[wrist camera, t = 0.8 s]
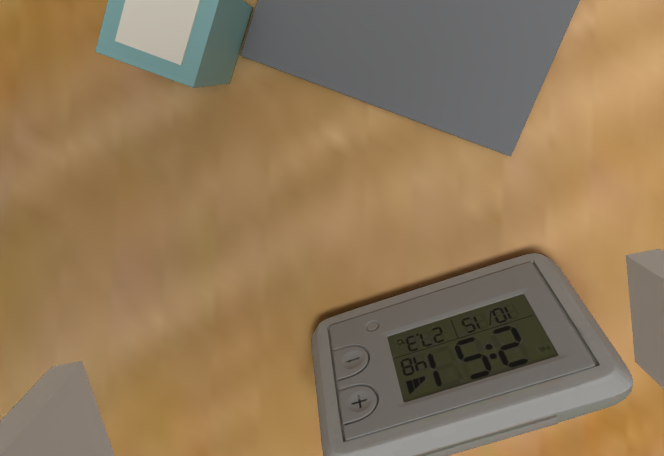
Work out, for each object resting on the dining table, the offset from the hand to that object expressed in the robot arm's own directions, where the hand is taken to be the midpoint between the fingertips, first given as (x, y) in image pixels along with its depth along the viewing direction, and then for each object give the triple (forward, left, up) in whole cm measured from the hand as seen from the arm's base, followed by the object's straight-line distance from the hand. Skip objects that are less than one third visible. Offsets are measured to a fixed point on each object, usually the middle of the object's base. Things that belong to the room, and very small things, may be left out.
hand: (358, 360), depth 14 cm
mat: (0, +12, -23) cm, 26 cm away
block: (-11, +6, -23) cm, 26 cm away
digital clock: (+9, -6, -24) cm, 26 cm away
